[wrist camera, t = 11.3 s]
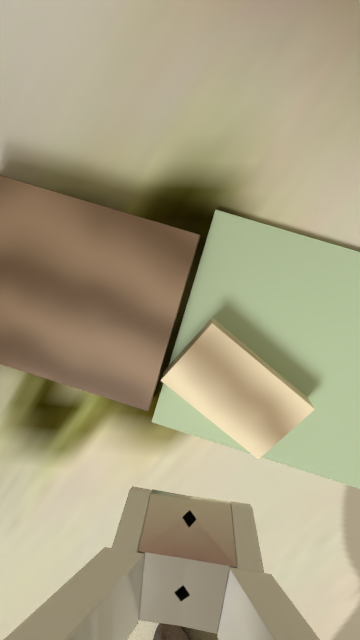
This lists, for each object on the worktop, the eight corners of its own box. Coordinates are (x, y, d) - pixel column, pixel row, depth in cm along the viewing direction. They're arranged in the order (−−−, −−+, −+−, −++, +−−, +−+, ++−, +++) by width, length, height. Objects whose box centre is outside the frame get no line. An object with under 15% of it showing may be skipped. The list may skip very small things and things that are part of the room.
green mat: (358, 486, 26) (360, 488, 26) (152, 420, 27) (151, 422, 26) (468, 284, 21) (472, 285, 21) (215, 210, 22) (215, 209, 22)
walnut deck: (152, 398, 26) (147, 411, 24) (-22, 343, 27) (-40, 350, 25) (200, 235, 22) (199, 234, 20) (-3, 175, 23) (-22, 168, 21)
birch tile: (255, 444, 26) (258, 459, 24) (164, 371, 25) (160, 380, 23) (307, 397, 24) (314, 409, 22) (212, 317, 23) (212, 323, 22)
